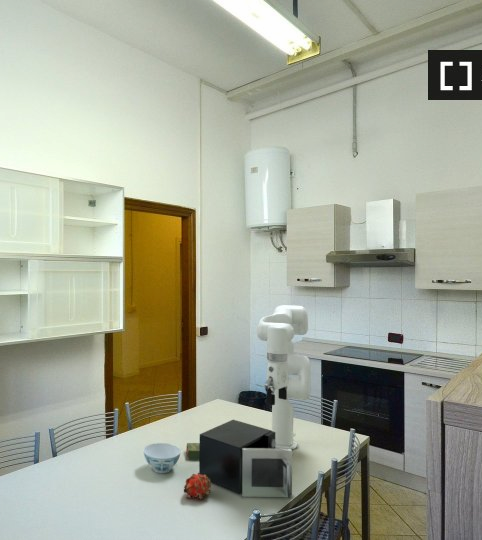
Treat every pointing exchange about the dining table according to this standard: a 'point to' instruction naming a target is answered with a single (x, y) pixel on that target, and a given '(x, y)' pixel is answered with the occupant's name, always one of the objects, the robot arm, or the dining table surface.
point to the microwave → (230, 451)
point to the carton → (193, 451)
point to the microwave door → (266, 472)
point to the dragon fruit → (197, 486)
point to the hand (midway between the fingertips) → (276, 401)
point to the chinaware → (162, 456)
